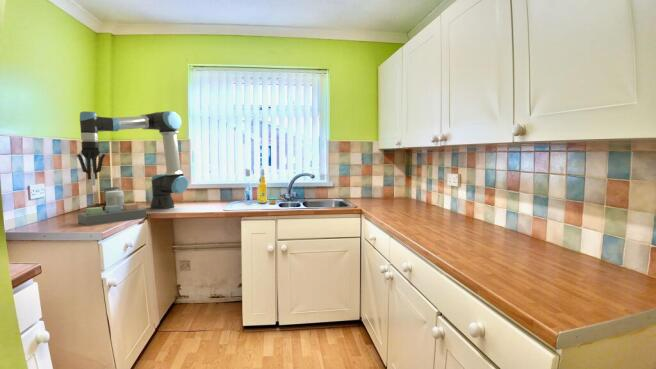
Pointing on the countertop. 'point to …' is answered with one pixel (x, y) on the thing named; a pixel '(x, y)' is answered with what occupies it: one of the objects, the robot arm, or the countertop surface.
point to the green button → (94, 210)
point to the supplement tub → (114, 198)
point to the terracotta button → (130, 206)
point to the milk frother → (104, 195)
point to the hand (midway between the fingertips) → (92, 185)
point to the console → (111, 217)
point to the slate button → (112, 208)
